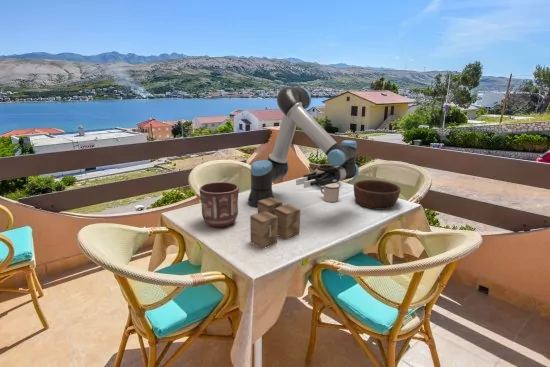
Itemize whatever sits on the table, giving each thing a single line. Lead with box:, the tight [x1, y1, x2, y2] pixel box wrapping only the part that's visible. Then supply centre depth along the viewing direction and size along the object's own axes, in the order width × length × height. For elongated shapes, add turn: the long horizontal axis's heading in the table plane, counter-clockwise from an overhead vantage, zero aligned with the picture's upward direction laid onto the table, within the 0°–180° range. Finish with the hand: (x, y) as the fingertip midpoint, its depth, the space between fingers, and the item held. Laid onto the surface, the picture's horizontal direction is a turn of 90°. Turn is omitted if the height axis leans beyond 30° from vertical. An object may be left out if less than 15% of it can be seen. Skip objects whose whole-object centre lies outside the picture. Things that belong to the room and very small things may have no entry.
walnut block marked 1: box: [249, 211, 278, 250], centre depth 131 cm, size 8×8×12 cm
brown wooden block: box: [274, 204, 301, 240], centre depth 139 cm, size 8×8×12 cm
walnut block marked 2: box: [257, 197, 283, 215], centre depth 148 cm, size 8×8×12 cm
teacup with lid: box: [319, 182, 341, 203], centre depth 183 cm, size 12×9×12 cm
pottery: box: [199, 181, 240, 229], centre depth 149 cm, size 18×18×18 cm
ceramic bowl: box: [313, 163, 336, 174], centre depth 209 cm, size 24×18×15 cm
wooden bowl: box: [353, 179, 401, 210], centre depth 178 cm, size 25×25×10 cm
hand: (300, 183), depth 139 cm, fingers open, 4 cm apart
